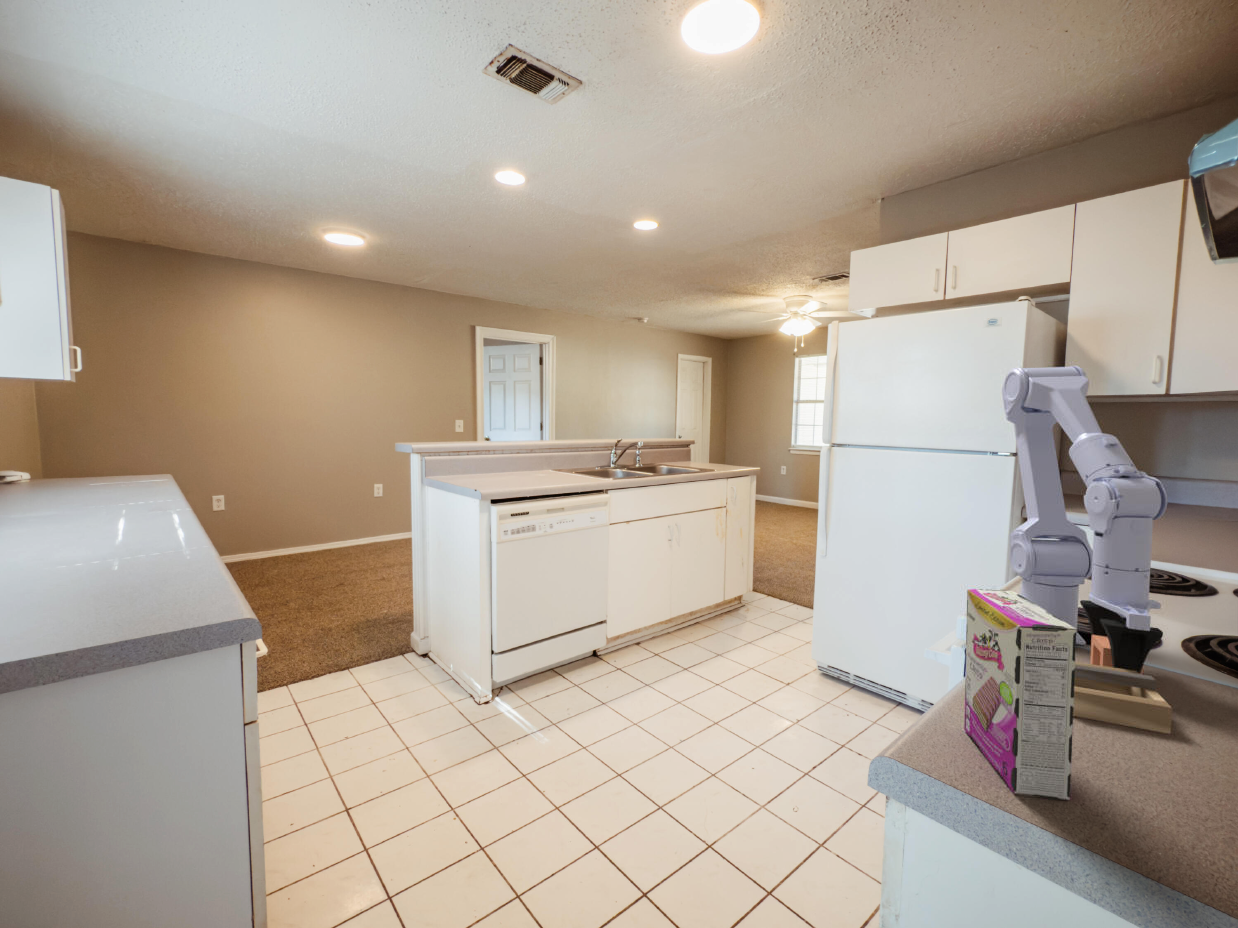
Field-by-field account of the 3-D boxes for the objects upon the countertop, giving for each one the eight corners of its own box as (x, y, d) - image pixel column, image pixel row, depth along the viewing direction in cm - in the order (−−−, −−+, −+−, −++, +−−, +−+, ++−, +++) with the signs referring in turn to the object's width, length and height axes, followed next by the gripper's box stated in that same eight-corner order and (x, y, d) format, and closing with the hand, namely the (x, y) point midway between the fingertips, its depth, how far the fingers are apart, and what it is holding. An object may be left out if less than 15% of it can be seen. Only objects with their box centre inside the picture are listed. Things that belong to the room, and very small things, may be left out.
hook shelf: (1046, 679, 72) (1047, 648, 72) (1135, 693, 68) (1137, 661, 68) (1066, 714, 63) (1068, 680, 63) (1170, 733, 59) (1172, 697, 59)
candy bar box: (960, 729, 60) (964, 587, 59) (1009, 734, 59) (1015, 589, 58) (1011, 796, 49) (1017, 623, 48) (1073, 803, 48) (1081, 626, 47)
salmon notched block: (1090, 665, 76) (1091, 634, 76) (1127, 671, 74) (1129, 639, 74) (1101, 680, 72) (1103, 647, 71) (1141, 686, 70) (1143, 653, 70)
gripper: (1186, 583, 64) (1180, 694, 65) (1139, 557, 77) (1134, 649, 77) (1109, 576, 67) (1104, 681, 68) (1075, 552, 80) (1072, 641, 81)
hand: (1115, 664), depth 73 cm, fingers open, 7 cm apart
